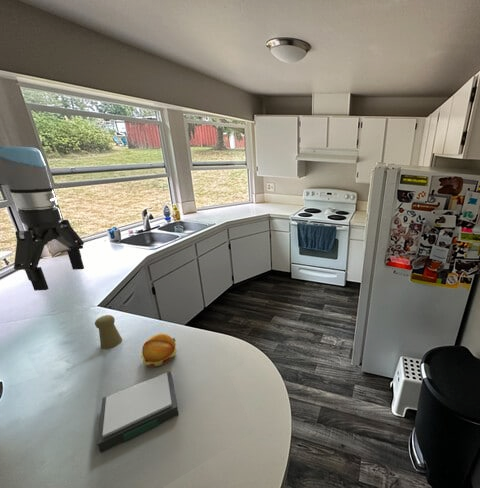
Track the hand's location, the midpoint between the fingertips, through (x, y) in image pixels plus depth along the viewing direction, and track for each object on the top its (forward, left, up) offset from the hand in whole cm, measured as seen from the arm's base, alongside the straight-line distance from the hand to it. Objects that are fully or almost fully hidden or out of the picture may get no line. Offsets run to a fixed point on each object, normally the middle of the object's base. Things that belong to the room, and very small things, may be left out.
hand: (61, 278), depth 74 cm
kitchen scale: (+13, -32, -30) cm, 46 cm away
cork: (+5, +4, -30) cm, 31 cm away
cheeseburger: (+19, -14, -30) cm, 38 cm away
